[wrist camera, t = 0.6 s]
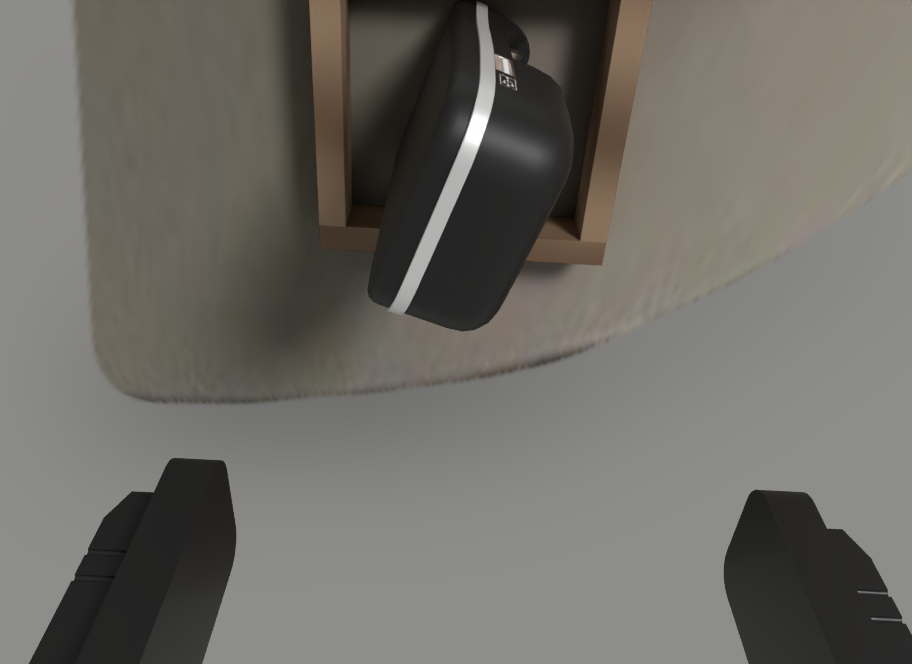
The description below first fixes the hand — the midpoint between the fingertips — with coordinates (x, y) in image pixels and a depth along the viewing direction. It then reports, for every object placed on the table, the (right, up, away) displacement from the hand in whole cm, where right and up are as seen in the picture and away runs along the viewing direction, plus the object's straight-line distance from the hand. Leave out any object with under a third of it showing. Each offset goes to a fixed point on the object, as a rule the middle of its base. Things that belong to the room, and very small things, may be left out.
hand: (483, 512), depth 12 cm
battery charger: (0, +12, +17) cm, 20 cm away
